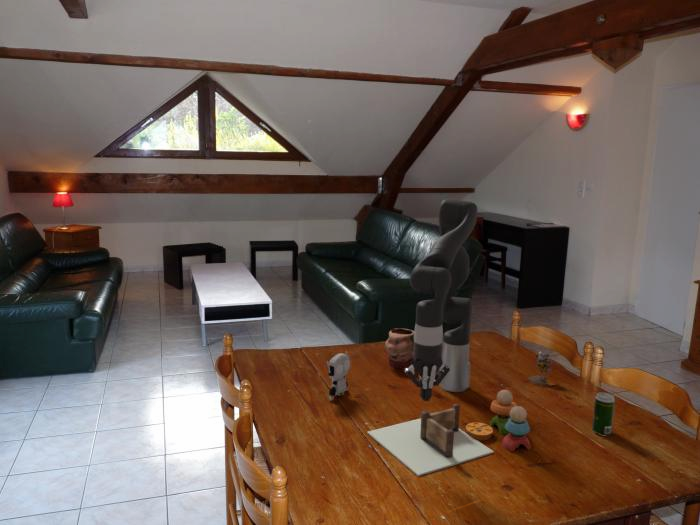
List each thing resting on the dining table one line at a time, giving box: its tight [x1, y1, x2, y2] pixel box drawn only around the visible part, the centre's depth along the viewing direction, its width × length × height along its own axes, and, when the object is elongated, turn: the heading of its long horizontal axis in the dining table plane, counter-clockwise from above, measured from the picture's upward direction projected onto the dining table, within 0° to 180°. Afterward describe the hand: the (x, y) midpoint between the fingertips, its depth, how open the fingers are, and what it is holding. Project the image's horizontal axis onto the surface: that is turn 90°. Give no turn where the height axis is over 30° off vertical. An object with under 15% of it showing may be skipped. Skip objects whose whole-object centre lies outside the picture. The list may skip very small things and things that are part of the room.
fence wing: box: [426, 418, 454, 457], centre depth 158 cm, size 11×2×7 cm, turn 29°
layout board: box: [366, 417, 494, 477], centre depth 164 cm, size 26×26×1 cm
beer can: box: [591, 392, 616, 436], centre depth 170 cm, size 5×5×12 cm
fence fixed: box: [420, 403, 461, 440], centre depth 167 cm, size 14×2×8 cm, turn 119°
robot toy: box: [326, 350, 351, 401], centre depth 193 cm, size 12×4×15 cm, turn 149°
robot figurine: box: [527, 351, 553, 387], centre depth 208 cm, size 11×9×12 cm
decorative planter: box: [384, 328, 415, 369], centre depth 225 cm, size 20×12×14 cm, turn 153°
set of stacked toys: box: [465, 389, 532, 452], centre depth 166 cm, size 18×17×12 cm
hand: (425, 399), depth 154 cm, fingers closed
